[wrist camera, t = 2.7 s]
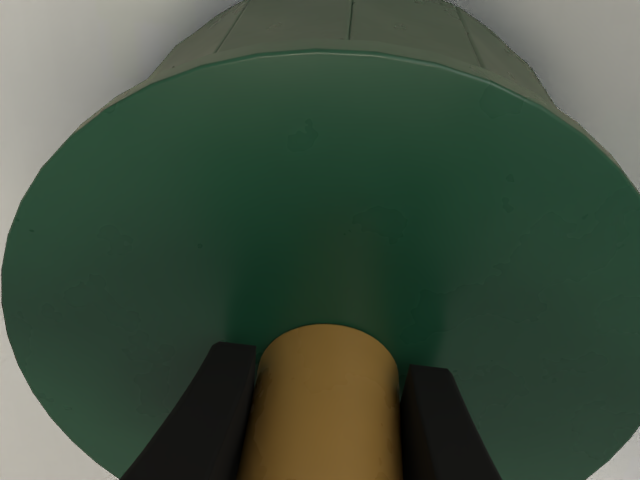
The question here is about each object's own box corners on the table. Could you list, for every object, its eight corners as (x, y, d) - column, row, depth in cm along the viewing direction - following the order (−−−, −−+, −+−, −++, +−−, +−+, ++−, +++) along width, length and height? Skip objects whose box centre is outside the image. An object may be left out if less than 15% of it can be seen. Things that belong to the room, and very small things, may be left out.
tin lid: (797, 294, 10) (1051, 580, 6) (378, 555, 16) (380, 793, 12) (226, -174, 7) (56, -160, 3) (-48, 358, 13) (-230, 596, 9)
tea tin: (653, 164, 14) (779, 321, 10) (375, 396, 19) (376, 567, 15) (284, -142, 11) (228, -114, 7) (71, 227, 17) (-39, 378, 12)
